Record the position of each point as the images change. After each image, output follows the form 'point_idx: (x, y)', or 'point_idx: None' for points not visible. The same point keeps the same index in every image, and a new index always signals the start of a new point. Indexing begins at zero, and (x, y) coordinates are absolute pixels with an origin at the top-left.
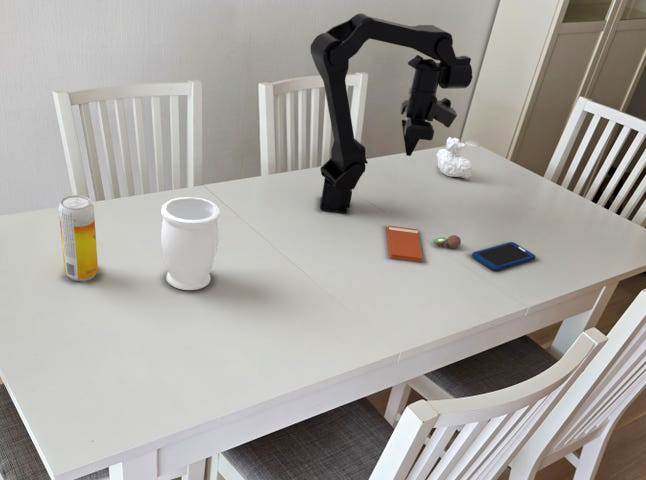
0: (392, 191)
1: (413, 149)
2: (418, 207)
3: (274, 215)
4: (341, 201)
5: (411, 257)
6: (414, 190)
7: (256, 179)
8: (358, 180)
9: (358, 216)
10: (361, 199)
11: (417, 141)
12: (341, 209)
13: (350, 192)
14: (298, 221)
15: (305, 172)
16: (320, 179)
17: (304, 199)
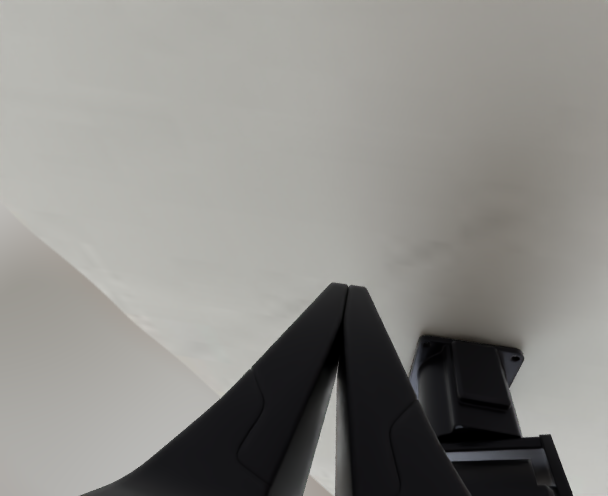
0: (263, 146)
1: (387, 341)
2: (433, 18)
3: None
4: (510, 397)
5: None
6: (204, 16)
7: (313, 474)
8: (562, 467)
9: (544, 316)
10: (382, 283)
11: (445, 461)
12: (504, 366)
13: (509, 406)
14: (569, 457)
15: (223, 389)
16: None
17: None
